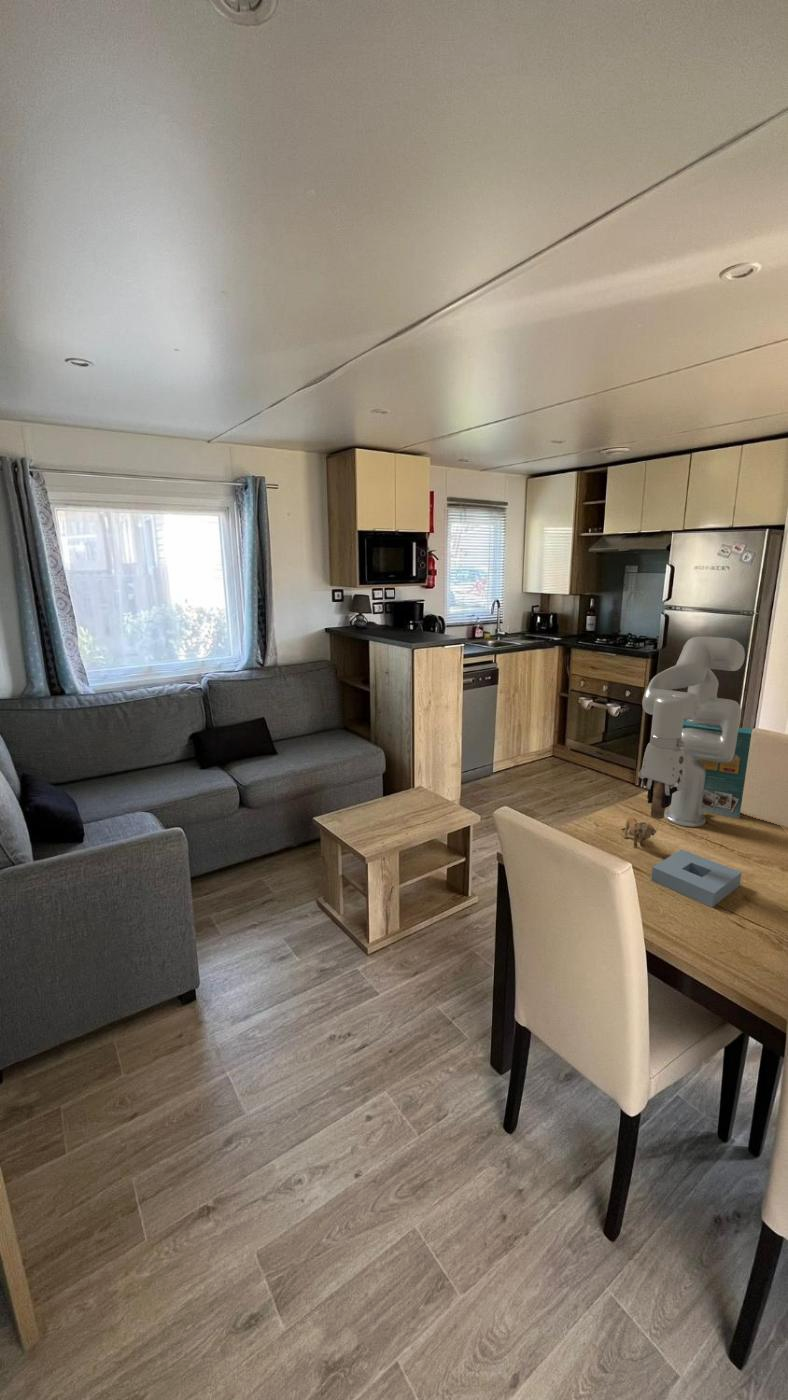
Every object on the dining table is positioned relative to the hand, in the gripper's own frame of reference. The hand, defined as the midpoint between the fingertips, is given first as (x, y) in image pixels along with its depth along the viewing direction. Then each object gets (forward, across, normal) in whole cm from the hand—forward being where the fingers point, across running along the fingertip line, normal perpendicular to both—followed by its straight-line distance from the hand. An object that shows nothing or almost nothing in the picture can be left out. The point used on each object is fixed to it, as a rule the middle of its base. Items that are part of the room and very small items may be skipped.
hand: (658, 803), depth 157 cm
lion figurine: (+20, +11, -10) cm, 24 cm away
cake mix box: (+19, +11, -52) cm, 56 cm away
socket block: (+19, -12, -1) cm, 23 cm away
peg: (+4, 0, 0) cm, 4 cm away
